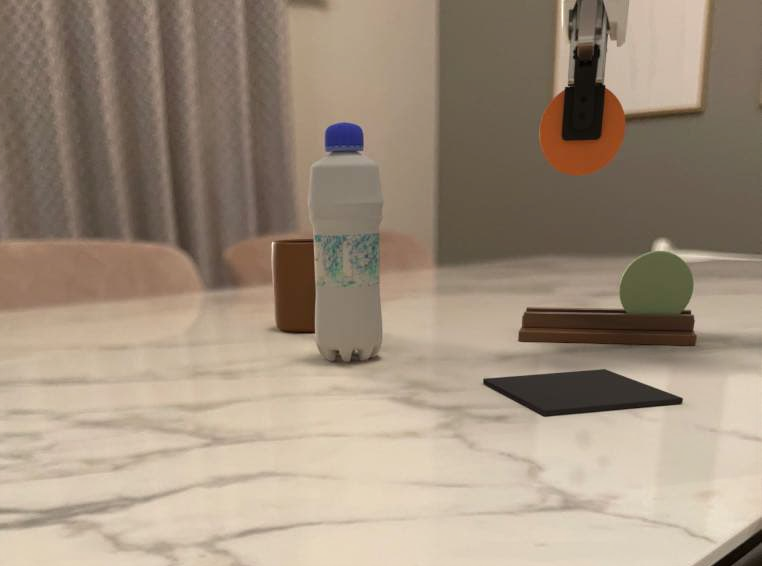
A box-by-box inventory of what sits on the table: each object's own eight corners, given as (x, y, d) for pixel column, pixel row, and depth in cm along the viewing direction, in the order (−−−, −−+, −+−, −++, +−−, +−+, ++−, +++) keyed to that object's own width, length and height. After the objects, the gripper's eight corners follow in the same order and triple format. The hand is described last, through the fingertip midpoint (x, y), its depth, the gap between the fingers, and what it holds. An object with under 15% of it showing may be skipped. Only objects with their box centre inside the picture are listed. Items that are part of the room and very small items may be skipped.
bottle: (319, 351, 83) (310, 125, 76) (387, 350, 83) (385, 123, 75) (308, 364, 77) (298, 120, 69) (382, 364, 76) (379, 118, 69)
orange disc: (538, 176, 75) (543, 86, 72) (620, 174, 73) (629, 82, 70) (536, 176, 73) (542, 85, 70) (620, 174, 71) (629, 80, 69)
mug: (383, 323, 99) (383, 237, 95) (374, 333, 92) (373, 242, 88) (284, 322, 101) (279, 238, 97) (267, 333, 94) (262, 243, 90)
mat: (604, 373, 71) (604, 368, 71) (682, 403, 61) (683, 398, 61) (482, 383, 69) (482, 378, 69) (544, 416, 59) (544, 410, 59)
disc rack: (525, 327, 94) (526, 304, 93) (687, 330, 90) (690, 306, 89) (518, 341, 86) (519, 316, 85) (695, 345, 82) (699, 319, 81)
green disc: (615, 321, 88) (622, 250, 85) (687, 322, 86) (696, 250, 84) (616, 323, 87) (623, 251, 84) (688, 325, 85) (698, 251, 82)
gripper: (657, -169, 57) (627, 135, 64) (651, -101, 71) (627, 142, 78) (543, -155, 59) (527, 138, 66) (559, -91, 73) (544, 145, 80)
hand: (581, 138), depth 72 cm, fingers closed on orange disc, 1 cm apart
